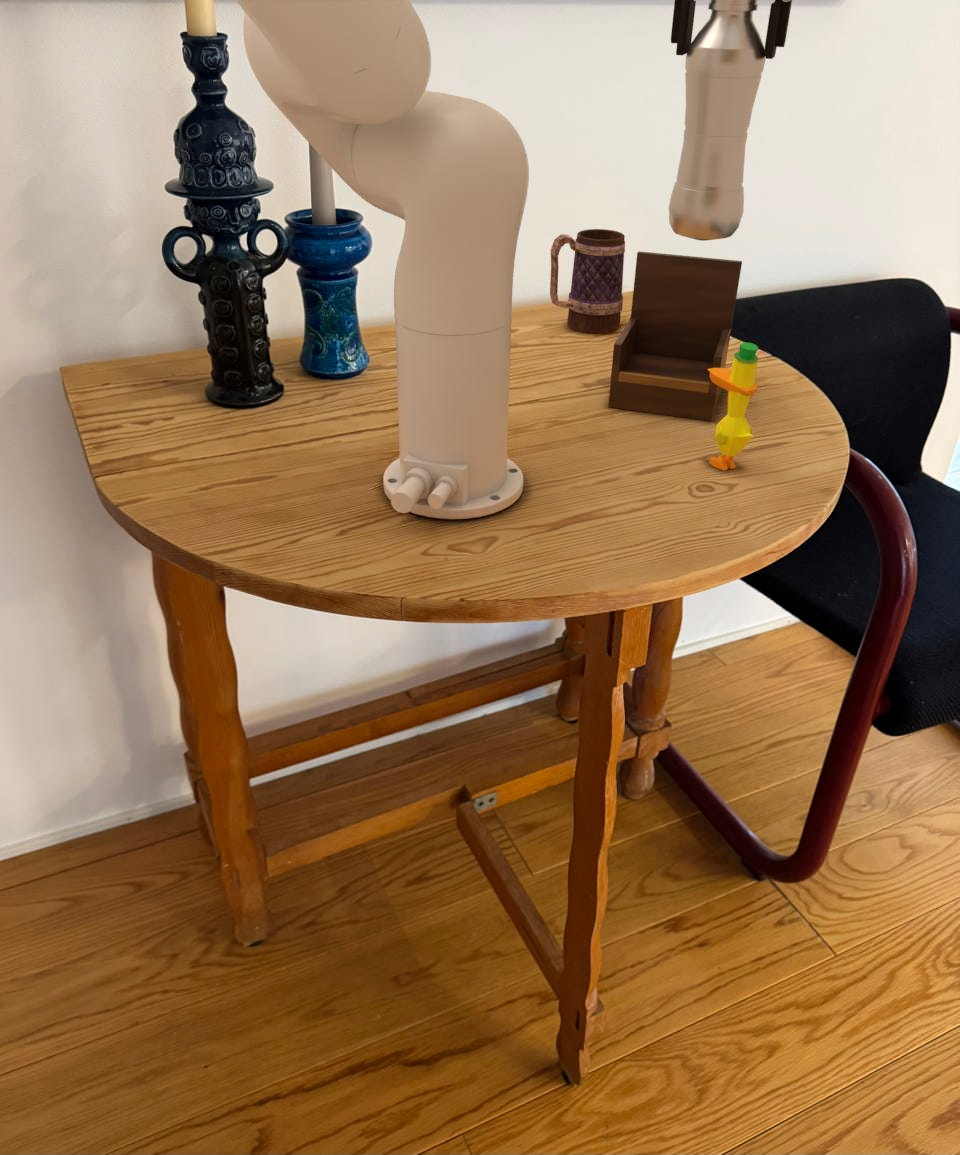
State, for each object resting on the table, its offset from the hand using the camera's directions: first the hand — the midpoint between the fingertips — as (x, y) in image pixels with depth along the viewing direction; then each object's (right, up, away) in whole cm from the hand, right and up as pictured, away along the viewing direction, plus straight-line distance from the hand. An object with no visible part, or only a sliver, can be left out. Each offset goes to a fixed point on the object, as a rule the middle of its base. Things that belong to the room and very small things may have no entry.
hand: (725, 53), depth 80 cm
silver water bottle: (0, -13, +8) cm, 15 cm away
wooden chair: (0, -24, +25) cm, 35 cm away
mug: (-7, -11, +44) cm, 46 cm away
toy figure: (+2, -33, +11) cm, 35 cm away
